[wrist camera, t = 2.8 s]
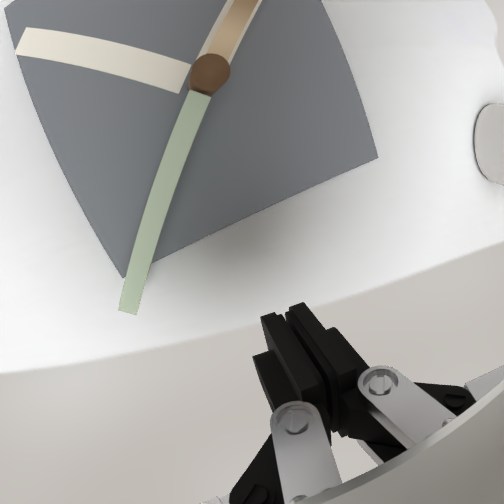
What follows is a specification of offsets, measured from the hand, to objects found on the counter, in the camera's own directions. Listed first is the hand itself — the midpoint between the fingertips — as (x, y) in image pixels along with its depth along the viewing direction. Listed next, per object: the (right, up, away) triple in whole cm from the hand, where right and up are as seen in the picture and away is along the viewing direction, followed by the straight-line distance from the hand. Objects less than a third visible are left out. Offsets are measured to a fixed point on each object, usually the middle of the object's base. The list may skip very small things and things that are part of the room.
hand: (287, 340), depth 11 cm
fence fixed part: (-2, +16, +3) cm, 17 cm away
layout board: (-5, +14, +3) cm, 15 cm away
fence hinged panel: (-6, +6, +5) cm, 10 cm away
